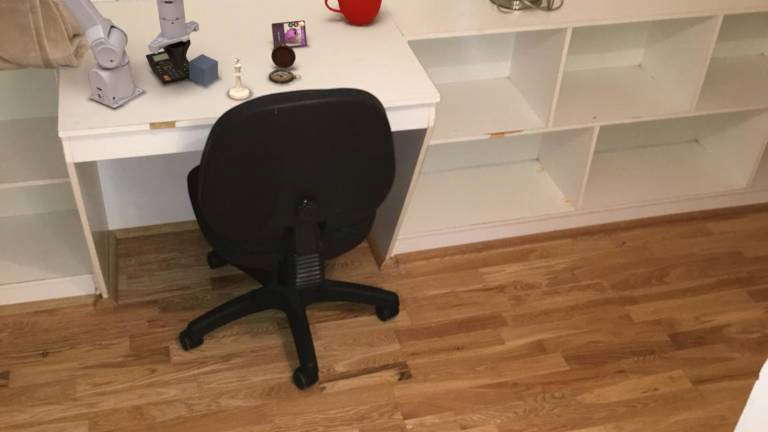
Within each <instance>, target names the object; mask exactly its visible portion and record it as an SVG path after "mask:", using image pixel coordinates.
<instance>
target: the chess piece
mask: <svg viewBox="0 0 768 432" xmlns="http://www.w3.org/2000/svg"><path fill="white" fill-rule="evenodd" d="M240 61H241V58H240V57H239V56H235V59H234V60H233V62H234V63H232V66H233V69H234V71H233V76H235V86H234V87H232V88H230V89H229V91H228V92H229V96H230V97H231V98H232V99H233V98H234V99H239V100H240V99H245V98H247V97H249V96H250V90H249V89H248V88H247V86H246V87H245V86H243V83H242V78H241V77H242V76H243V72H242V71H241V69H242V68H243V67H242V66H243V65H242V62H240Z"/></svg>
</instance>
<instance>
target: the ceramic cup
mask: <svg viewBox="0 0 768 432" xmlns="http://www.w3.org/2000/svg"><path fill="white" fill-rule="evenodd" d="M328 2H329V0H324V5H325V7H326V8H327V9H328V10H329V11H330V12H334V13H337V14H342V16H343V18H344V19H345V20H346V21H347V22H348V23H349V24H351V25H353V26H356V27H357V26H358V27H360V26H367V25H369V24H371V22H372V21H373V20H374V19H375V18H376V17H377V15H378V14H379V12H380V11H381V10H380V9H381V7H382V2H383V0H337V3H338V8H339V9H337V8H333V7H331V6H330V5H329V4H328Z"/></svg>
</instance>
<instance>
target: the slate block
mask: <svg viewBox="0 0 768 432" xmlns="http://www.w3.org/2000/svg"><path fill="white" fill-rule="evenodd" d="M188 61H189V79H188V80H191V81H193V82H194V83H197V84H198V85H201V86H204V87H206V86H207V85H209V84H211V83H213V82H214V81H216V80H218V79H219V61H218V60H216V59H214V58H212V57H210V56H208V55H205V54H203V53H202V54H200V55H198V56H196V57H194V58H192V59H191V60H188Z"/></svg>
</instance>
